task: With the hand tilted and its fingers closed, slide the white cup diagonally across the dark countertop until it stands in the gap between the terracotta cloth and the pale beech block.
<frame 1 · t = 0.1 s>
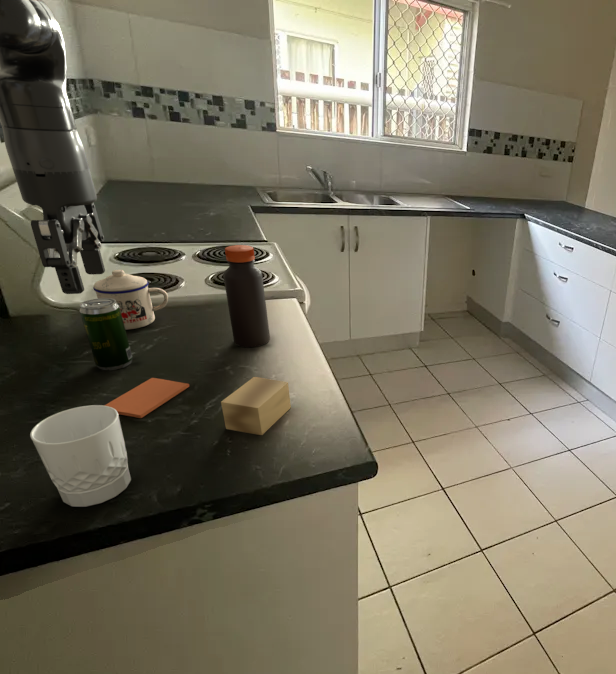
hand: (85, 282, 69), 20 cm above the worktop, tool pointing down, fingers open, 8 cm apart
beech block: (259, 417, 76), on the worktop
teacup with lid: (139, 322, 103), on the worktop
bottle: (252, 341, 100), on the worktop
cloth: (147, 398, 78), on the worktop
beer can: (115, 364, 87), on the worktop
white cup: (98, 489, 60), on the worktop
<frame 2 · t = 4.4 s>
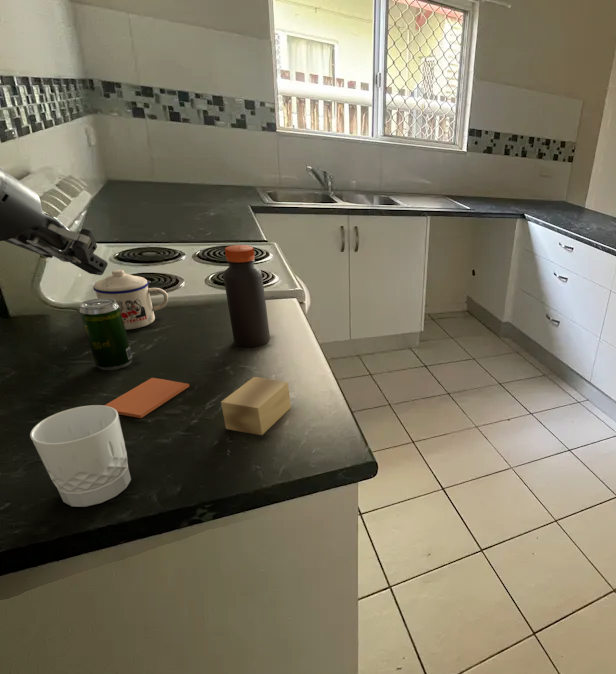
hand: (100, 268, 67), 23 cm above the worktop, tool tilted 45°, fingers closed
nothing on the worktop moved.
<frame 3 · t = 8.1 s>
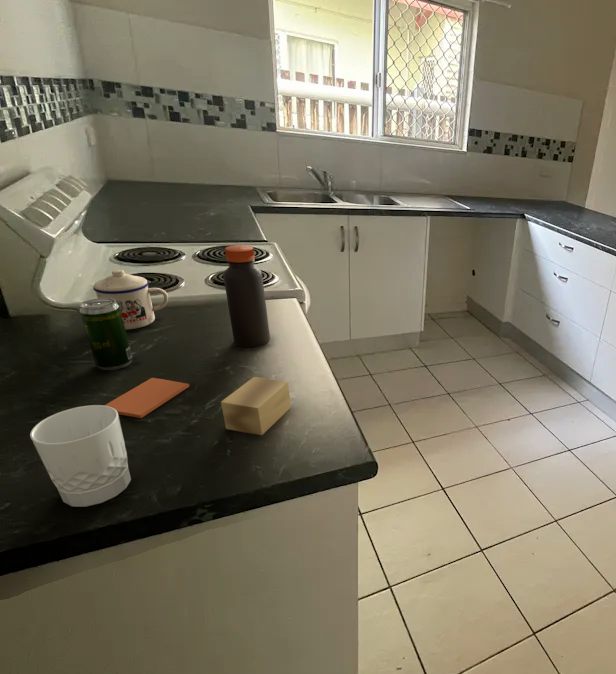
nothing on the worktop moved.
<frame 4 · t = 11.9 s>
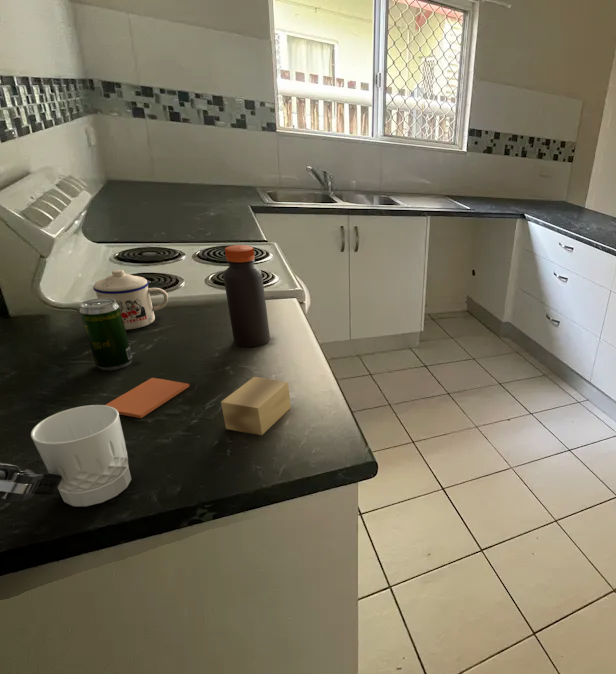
hand: (53, 484, 54), 4 cm above the worktop, tool tilted 45°, fingers closed
white cup: (99, 489, 60), on the worktop, touching gripper
everything else where it was.
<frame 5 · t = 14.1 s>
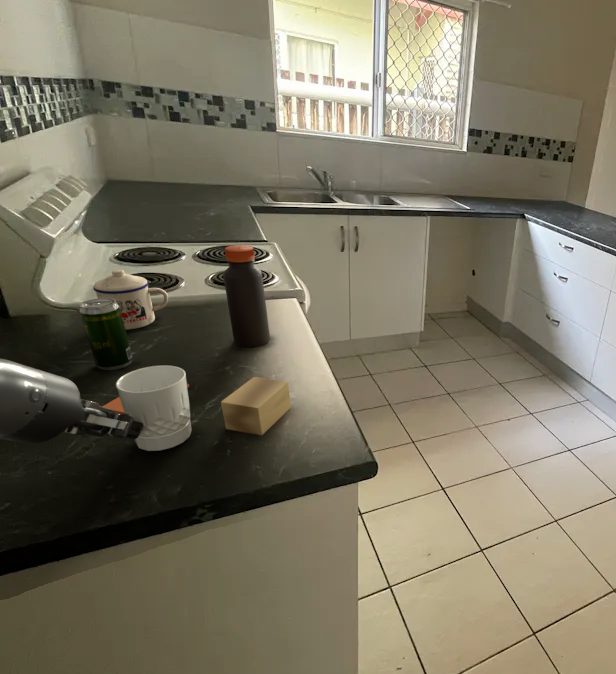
hand: (136, 430, 64), 4 cm above the worktop, tool tilted 45°, fingers closed
white cup: (164, 438, 70), on the worktop, touching gripper
everything else where it was.
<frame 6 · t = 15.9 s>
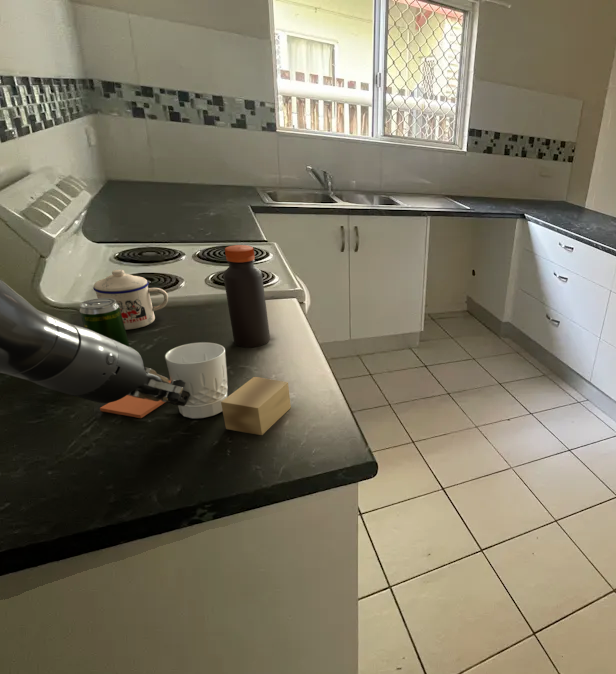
hand: (183, 399, 72), 4 cm above the worktop, tool tilted 45°, fingers closed
white cup: (204, 408, 77), on the worktop, touching gripper
everything else where it was.
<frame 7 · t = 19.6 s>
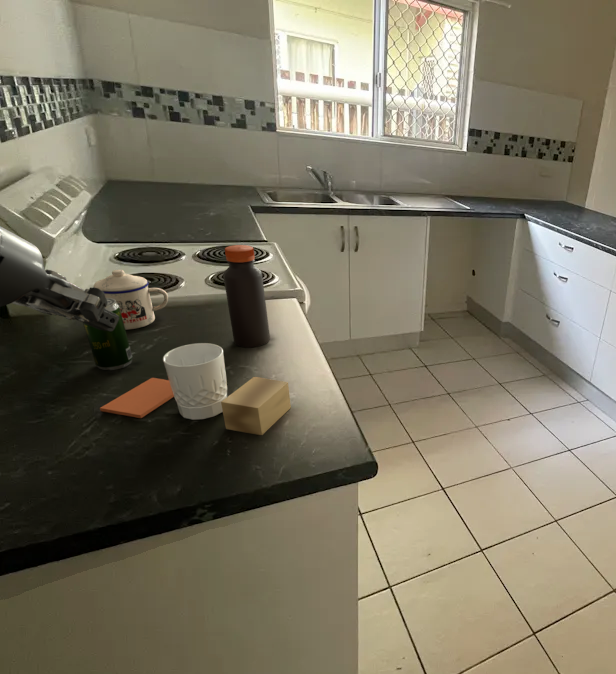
hand: (111, 323, 59), 20 cm above the worktop, tool tilted 45°, fingers closed
white cup: (205, 409, 77), on the worktop
everything else where it was.
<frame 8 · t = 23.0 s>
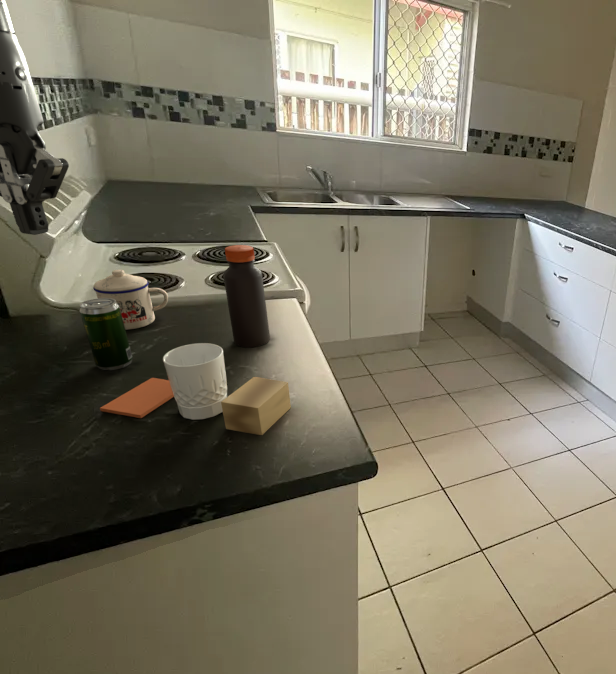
hand: (35, 232, 59), 29 cm above the worktop, tool pointing down, fingers closed
nothing on the worktop moved.
at the end: white cup inside the target area on the worktop beside the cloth (0.4 cm from its centre), on the worktop; white cup 9.6 cm from the beech block (horizontally); white cup tilted 0° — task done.
